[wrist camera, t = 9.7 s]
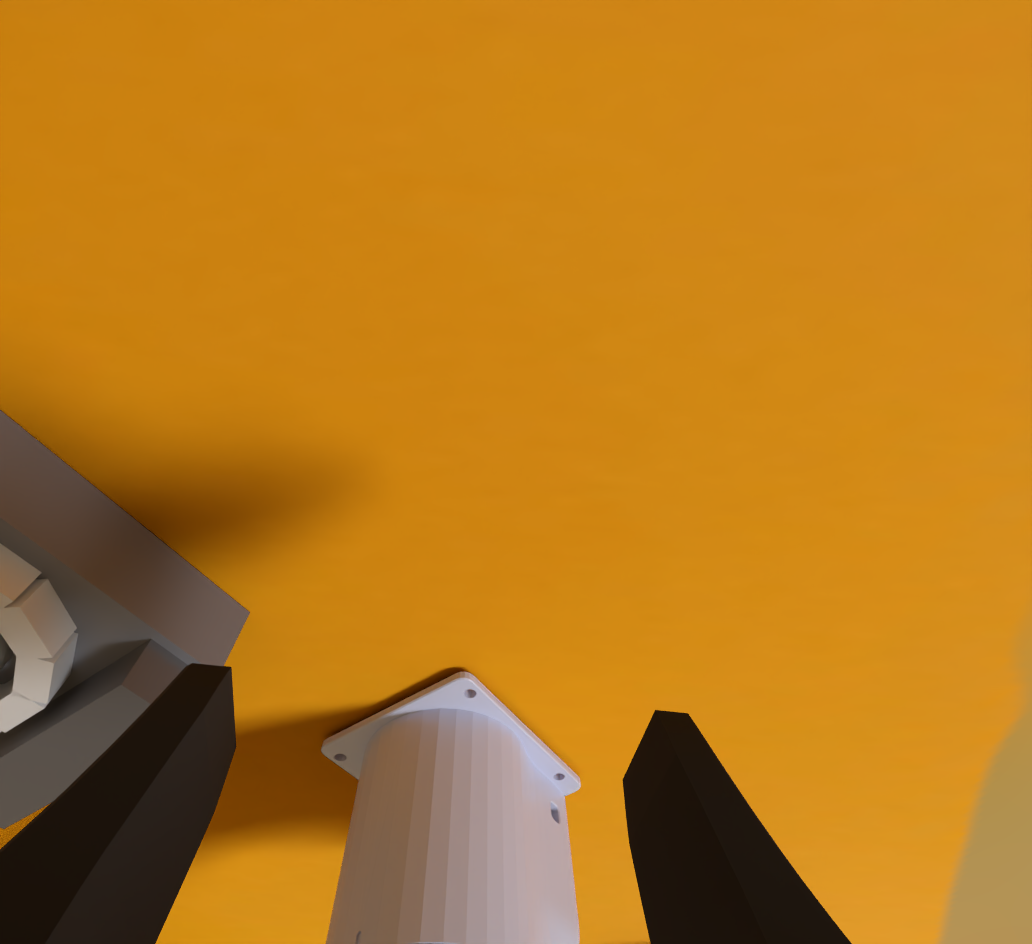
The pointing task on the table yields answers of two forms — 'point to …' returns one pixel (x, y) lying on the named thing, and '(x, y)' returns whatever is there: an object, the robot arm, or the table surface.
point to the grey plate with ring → (85, 622)
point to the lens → (4, 652)
